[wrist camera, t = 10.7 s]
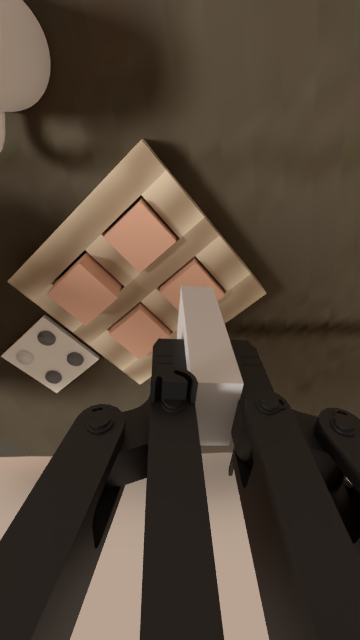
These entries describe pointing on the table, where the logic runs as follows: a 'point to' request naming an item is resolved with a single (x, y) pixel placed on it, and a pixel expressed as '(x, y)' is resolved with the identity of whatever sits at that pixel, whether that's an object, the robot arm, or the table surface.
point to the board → (88, 234)
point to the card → (50, 354)
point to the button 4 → (189, 281)
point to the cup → (21, 60)
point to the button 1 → (85, 289)
